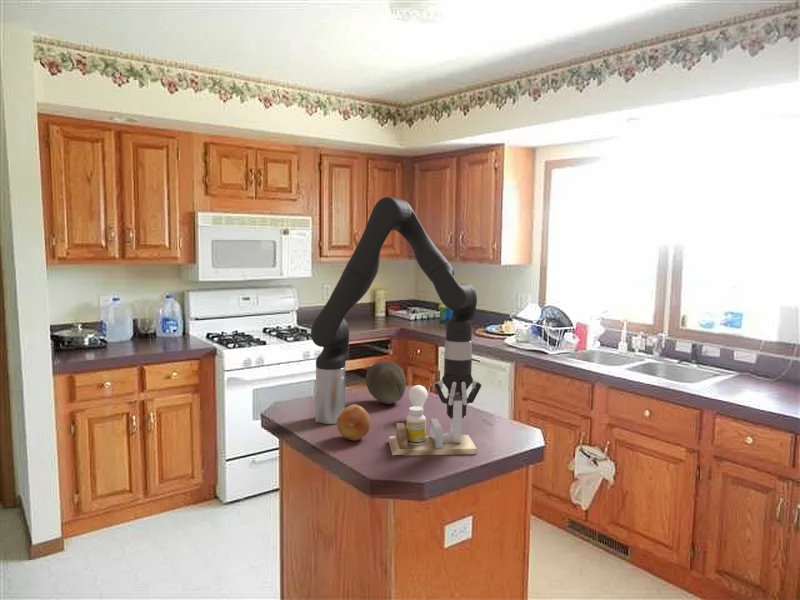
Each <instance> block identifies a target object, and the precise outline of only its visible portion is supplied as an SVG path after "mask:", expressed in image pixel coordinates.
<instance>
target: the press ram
mask: <svg viewBox="0 0 800 600" xmlns="http://www.w3.org/2000/svg"><path fill="white" fill-rule="evenodd" d="M462 398H463V397H462V394H461V393H455V394H454V398H453V404H452V405H453V418H450V432H444V428H443V426H442V425H441V422H440V421H439V419H438V418H429V420H430V422H429V436H430V437H431V439H432V441H433V444H434V446H435V448H443V443H461V435H462V432H463V431H462V429H463V428H462V427H463V426H462V425H463V424H462V423H463V418H462Z"/></svg>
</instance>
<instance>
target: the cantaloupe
mask: <svg viewBox="0 0 800 600" xmlns="http://www.w3.org/2000/svg"><path fill="white" fill-rule="evenodd" d="M406 379H407V378H406V375H405V372H404V370H403V368H402V367H401V366H399V365H398V364H397V363H396V362H393V361H389V360H386V361H381V360H380V361H377V362H375V363H373V364H372V365H371V366H370V367H369V369H368V370H367V372H366V374H365V384H366V387H367V390H368V392H369V394H370V395H371V396H372V397H373V398H374V399H376V400H377V401H378V402H381V403H383V404H386V405H392V404H394V403H397V402H399V401H400V400H401V399H403V397H404V395H405V391H406V387H407V380H406Z"/></svg>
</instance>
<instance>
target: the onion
mask: <svg viewBox="0 0 800 600" xmlns="http://www.w3.org/2000/svg"><path fill="white" fill-rule="evenodd" d="M336 427H337V429H338V432H339V433H340V435H341V436H342V437H343V438H344V439H347V440H350V441H353V442H356V441H359V440H361V439H362V438H364V437H365V436H367V435H368V433H369V432H370V429H371V427H372V420H371V417H370V414H369V413H368V411H367V410H366V409H365V408H364V407H363V406H361V405H359V404H355V403H353V404H350V405H349V406H347V407H346V406H345V409H344V410H343V411H342V412H341V413H340V415H339V417H338V418H337V423H336Z"/></svg>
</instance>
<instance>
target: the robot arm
mask: <svg viewBox="0 0 800 600" xmlns="http://www.w3.org/2000/svg"><path fill="white" fill-rule="evenodd" d="M369 215H370V216H369V218H368V220H367V223H366V226H365V229H364V231H363V233H362V235H361V237H360V238H359V241H358V243H357V245H356V246H355V249H354V251H353V252H352V255H351V257H350V258H349V260H348V261H347V264H346V265H345V268H344V269H343V271H342V273H341V276H340V278H339V279H338V282H337V283H336V285H335V287H334V289H333V291H332V293H331V294H330V296H329V299H328V300H327V302H326V303H325V305H324V307H323V308H322V309H321V311H320V313H319V314H318V315H317V317H316V318H315V320H314V322H313V324H312V325H311V329H310V335H311V340H312V342H313V344H315V345H316V346H318V347H321V348H322V350H321V352H320V353H319V355H318V356H317V357H316V359H315V396H314V397H315V399H314V400H315V401H314V402H315V410H314V411H315V412H314V413H315V414H314V415H315V417H314V418H315V421H314V422H315V423H318V424H325V425H333V424H337V418H338V417H339V415H340V413H341V412H342V411H343V410H344V409H345V408H346V362H347V359H348V356H349V345H350V343H349V342H350V330H349V329H350V328H349V324H348V322H347V321H346V319H345V317H346V316H347V314H348V313H349V312H350V310H351V309H352V308H353V307H354V306H356V304H357V303H358V302H359V301H360V300H362V299H363V297H364V296H365V295H366V294H367V293H368V291H369V290H370V287H371V285H372V284H373V282H374V280H375V278H376V277H377V275H378V272H379V269H380V268H379V267H380V256H381V250H382V248H383V245H384V243H385V242H386V240H387V238H388V236H389V234H390V233H391V232H392V231H396V232H398V233H399V234H400V235H401V237H403V238H404V239H405V241H407V243H408V244H409V246H410V247H411V249H412V252H413V255H414V257H415V260H416V262H417V264H418V266H419V268H420V269H421V271H422V272H424V274H425V275H426V276H427V278H428V280H430V282H431V283H432V284H433V286H434V289H435V291H436V293H437V296H438V298H439V300H440V301H441V302H442V304H443V305H444V306H445V307H446V308H448V309H449V310H451V311H452V313H451V317H450V318H449V319H447V321H446V325H445V326H446V327H445V343H444V344H445V345H444V353H443V355H444V359H443V360H444V364H443V367H444V368H443V376H442V379H441V380H439V381H434V382H433V387H434V388H435V391H436V393H437V395H438V397H439V399H440V401H441V403H442V404H445V405H446V415H447V417H449V419H451V418H453V405H452V404H453V398H454V394H455V393H461V394H462V397H463V398H462V419H464V418H465V417H466V416H467V405H468V404H473V403H474V401H475V400H476V397H477V395H478V394H479V392H480V390H481V388H482V383H481V382H479V381H477V380H474V378H473V377H472V370H473V369H472V367H473V366H472V364H473V361H472V360H473V346H472V345H473V344H472V343H473V342H472V339H473V338H472V336H473V335H472V331H473V329H472V328H473V321H474V318H475V313H476V310H477V309H476V308H477V304H478V297H477V296H478V295H477V292H476V289H475V288H474V287H473V286H472V284H470V283H458V281H457V280H456V279H455V277H454V275H455V270H454V268H453V266H452V265H451V263H450V262H449V261H448V260H447V259H446V257H445V256H444V255H443V253H442V252H441V251H440V249H438V247H437V246H436V245H435V243H434V242H433V240H432V239H431V238H430V236H429V235H428V233H427V232H426V230H425V228H424V227H423V226H422V224H421V222H420V221H419V219H418V218H419V217H417V215H416V213H415V212H414V209H413V207H412V206H411V205H410V204H409V203H408V202H407V201H406V200H404V199H403V198H396V197H393V196H384V197H382V198H380V199H379V200H377V201H376V203H375V205H374V206H373V209H372V210H371V213H370V214H369ZM444 386H445V388H447V397H445V395H444V392H443V391H442V389H443V387H444ZM469 387H471V390H470V393H469V394H468V395H467V390H468V389H469Z"/></svg>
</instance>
